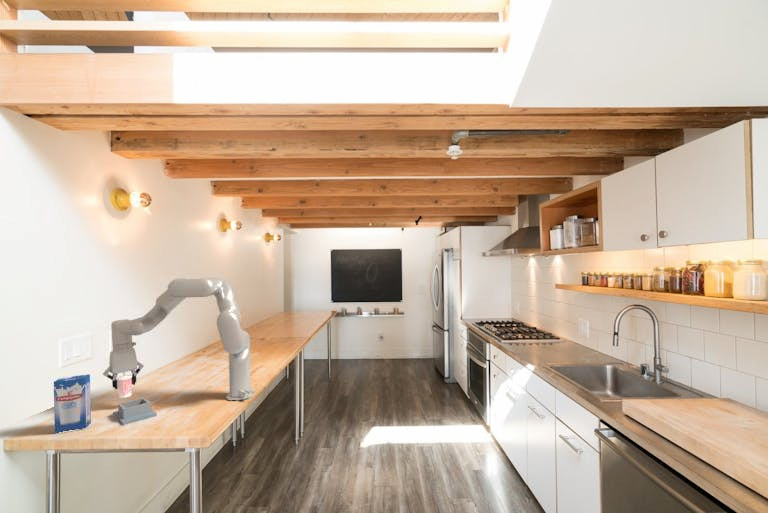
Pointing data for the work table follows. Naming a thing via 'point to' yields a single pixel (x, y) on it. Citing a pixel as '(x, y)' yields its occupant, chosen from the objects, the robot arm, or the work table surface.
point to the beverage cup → (124, 385)
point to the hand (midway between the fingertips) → (124, 386)
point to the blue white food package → (72, 403)
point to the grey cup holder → (134, 411)
